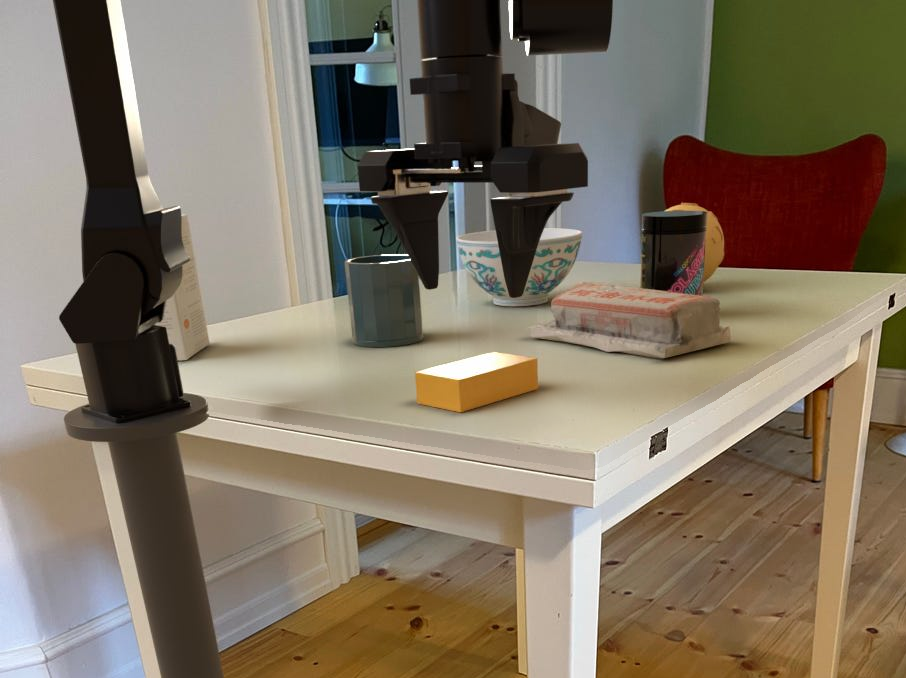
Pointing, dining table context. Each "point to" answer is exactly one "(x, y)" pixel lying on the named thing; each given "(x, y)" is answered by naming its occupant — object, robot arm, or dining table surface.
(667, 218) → the supplement container
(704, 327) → the packaged product
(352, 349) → the dining table surface
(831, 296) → the dining table surface
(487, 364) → the orange flat block
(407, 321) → the cup
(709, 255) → the stress ball
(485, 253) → the chinaware
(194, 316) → the small box
